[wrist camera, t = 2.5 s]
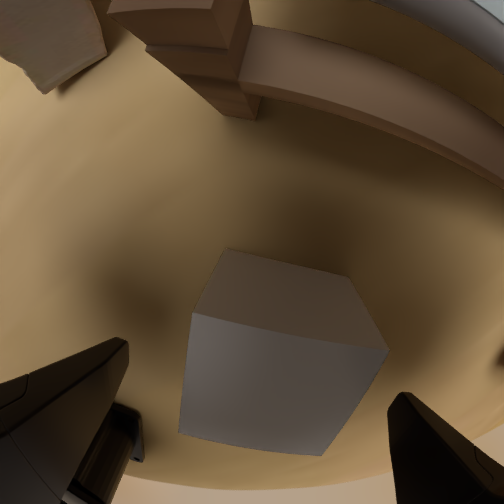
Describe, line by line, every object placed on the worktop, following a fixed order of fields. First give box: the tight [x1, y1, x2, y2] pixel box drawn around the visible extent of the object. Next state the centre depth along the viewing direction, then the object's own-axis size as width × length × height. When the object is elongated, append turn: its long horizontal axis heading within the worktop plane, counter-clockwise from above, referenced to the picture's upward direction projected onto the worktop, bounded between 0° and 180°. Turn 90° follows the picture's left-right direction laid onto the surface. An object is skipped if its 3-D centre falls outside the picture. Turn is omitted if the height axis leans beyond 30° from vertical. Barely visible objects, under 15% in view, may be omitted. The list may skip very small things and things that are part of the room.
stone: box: [178, 248, 390, 456], centre depth 10 cm, size 5×5×5 cm
